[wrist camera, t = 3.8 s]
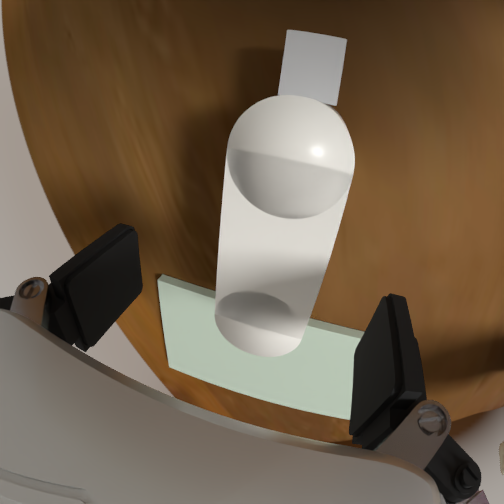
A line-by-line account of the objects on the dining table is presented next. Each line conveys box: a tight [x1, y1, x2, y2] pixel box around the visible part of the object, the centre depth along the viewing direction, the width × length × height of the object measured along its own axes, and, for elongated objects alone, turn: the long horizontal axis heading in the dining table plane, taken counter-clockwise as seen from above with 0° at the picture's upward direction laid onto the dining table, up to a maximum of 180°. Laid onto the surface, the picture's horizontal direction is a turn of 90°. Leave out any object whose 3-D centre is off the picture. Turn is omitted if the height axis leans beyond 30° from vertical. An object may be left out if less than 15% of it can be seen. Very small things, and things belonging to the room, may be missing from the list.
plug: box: [215, 30, 355, 357], centre depth 13 cm, size 4×15×6 cm, turn 173°
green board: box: [158, 274, 364, 420], centre depth 23 cm, size 20×12×1 cm, turn 83°
